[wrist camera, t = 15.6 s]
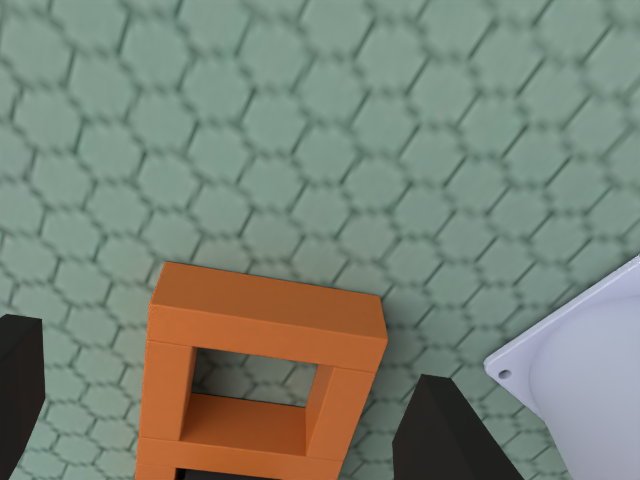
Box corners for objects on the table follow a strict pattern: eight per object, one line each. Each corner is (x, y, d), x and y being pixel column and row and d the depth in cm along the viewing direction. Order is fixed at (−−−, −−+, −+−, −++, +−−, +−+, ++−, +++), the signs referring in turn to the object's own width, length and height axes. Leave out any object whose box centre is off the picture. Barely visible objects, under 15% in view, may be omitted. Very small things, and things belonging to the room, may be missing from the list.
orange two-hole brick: (165, 260, 20) (148, 304, 18) (380, 295, 21) (389, 340, 19) (142, 502, 28) (128, 554, 26) (303, 519, 29) (303, 570, 27)
